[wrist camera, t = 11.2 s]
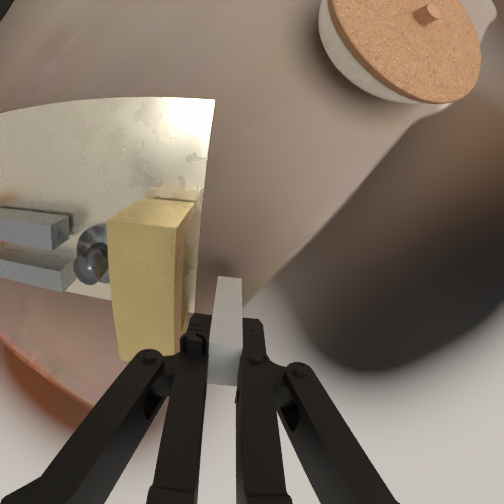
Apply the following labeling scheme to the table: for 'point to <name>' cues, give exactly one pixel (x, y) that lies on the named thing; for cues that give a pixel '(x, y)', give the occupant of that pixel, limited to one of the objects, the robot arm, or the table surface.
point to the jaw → (33, 228)
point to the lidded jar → (403, 47)
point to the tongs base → (100, 180)
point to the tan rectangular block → (148, 275)
